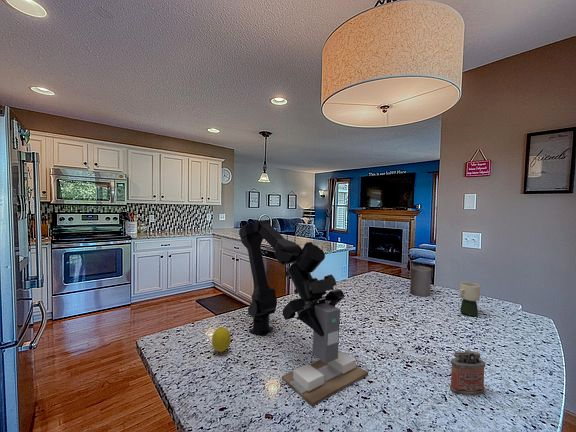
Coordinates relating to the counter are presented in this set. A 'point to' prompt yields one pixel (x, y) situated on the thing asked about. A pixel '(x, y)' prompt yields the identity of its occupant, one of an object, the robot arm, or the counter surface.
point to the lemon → (221, 339)
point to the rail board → (327, 383)
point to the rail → (326, 370)
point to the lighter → (467, 373)
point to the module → (327, 333)
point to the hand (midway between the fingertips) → (329, 333)
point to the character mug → (469, 297)
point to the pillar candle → (420, 281)
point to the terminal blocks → (314, 378)
